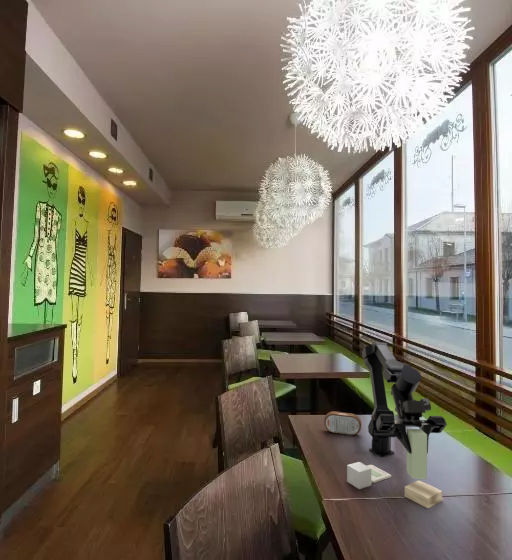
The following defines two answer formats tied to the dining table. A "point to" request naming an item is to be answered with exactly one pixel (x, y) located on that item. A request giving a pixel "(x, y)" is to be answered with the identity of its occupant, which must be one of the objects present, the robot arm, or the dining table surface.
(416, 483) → the maple base
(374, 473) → the card
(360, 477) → the grey cube
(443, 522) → the dining table surface
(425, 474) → the sage block
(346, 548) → the dining table surface
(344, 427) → the tin
